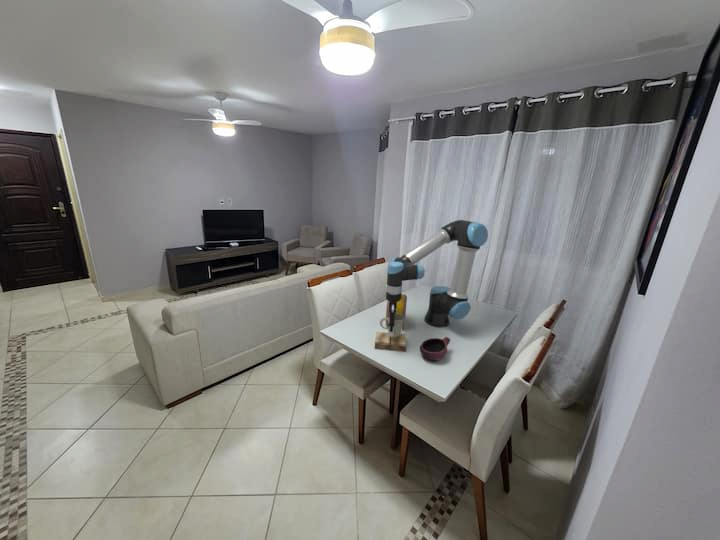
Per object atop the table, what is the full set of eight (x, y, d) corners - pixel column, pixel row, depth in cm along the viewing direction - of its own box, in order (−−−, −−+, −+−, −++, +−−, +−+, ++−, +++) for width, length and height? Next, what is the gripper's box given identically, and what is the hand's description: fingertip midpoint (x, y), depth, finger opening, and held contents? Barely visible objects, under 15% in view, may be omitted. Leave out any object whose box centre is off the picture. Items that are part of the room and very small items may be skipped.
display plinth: (404, 340, 149) (405, 333, 148) (405, 351, 139) (406, 344, 138) (375, 337, 151) (376, 331, 150) (374, 348, 141) (374, 342, 139)
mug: (402, 338, 138) (403, 321, 135) (377, 335, 140) (378, 318, 137) (403, 330, 146) (404, 314, 143) (380, 327, 148) (381, 311, 145)
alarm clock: (388, 315, 177) (390, 288, 171) (405, 317, 175) (407, 290, 169) (384, 329, 160) (386, 299, 154) (403, 332, 158) (406, 301, 152)
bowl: (442, 367, 127) (444, 353, 125) (416, 359, 133) (417, 345, 131) (449, 351, 141) (451, 337, 138) (425, 343, 147) (427, 330, 144)
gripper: (386, 285, 146) (384, 323, 152) (385, 299, 127) (382, 341, 134) (400, 286, 145) (397, 324, 152) (401, 300, 127) (398, 343, 133)
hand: (390, 332), depth 143 cm, fingers closed on mug, 6 cm apart
